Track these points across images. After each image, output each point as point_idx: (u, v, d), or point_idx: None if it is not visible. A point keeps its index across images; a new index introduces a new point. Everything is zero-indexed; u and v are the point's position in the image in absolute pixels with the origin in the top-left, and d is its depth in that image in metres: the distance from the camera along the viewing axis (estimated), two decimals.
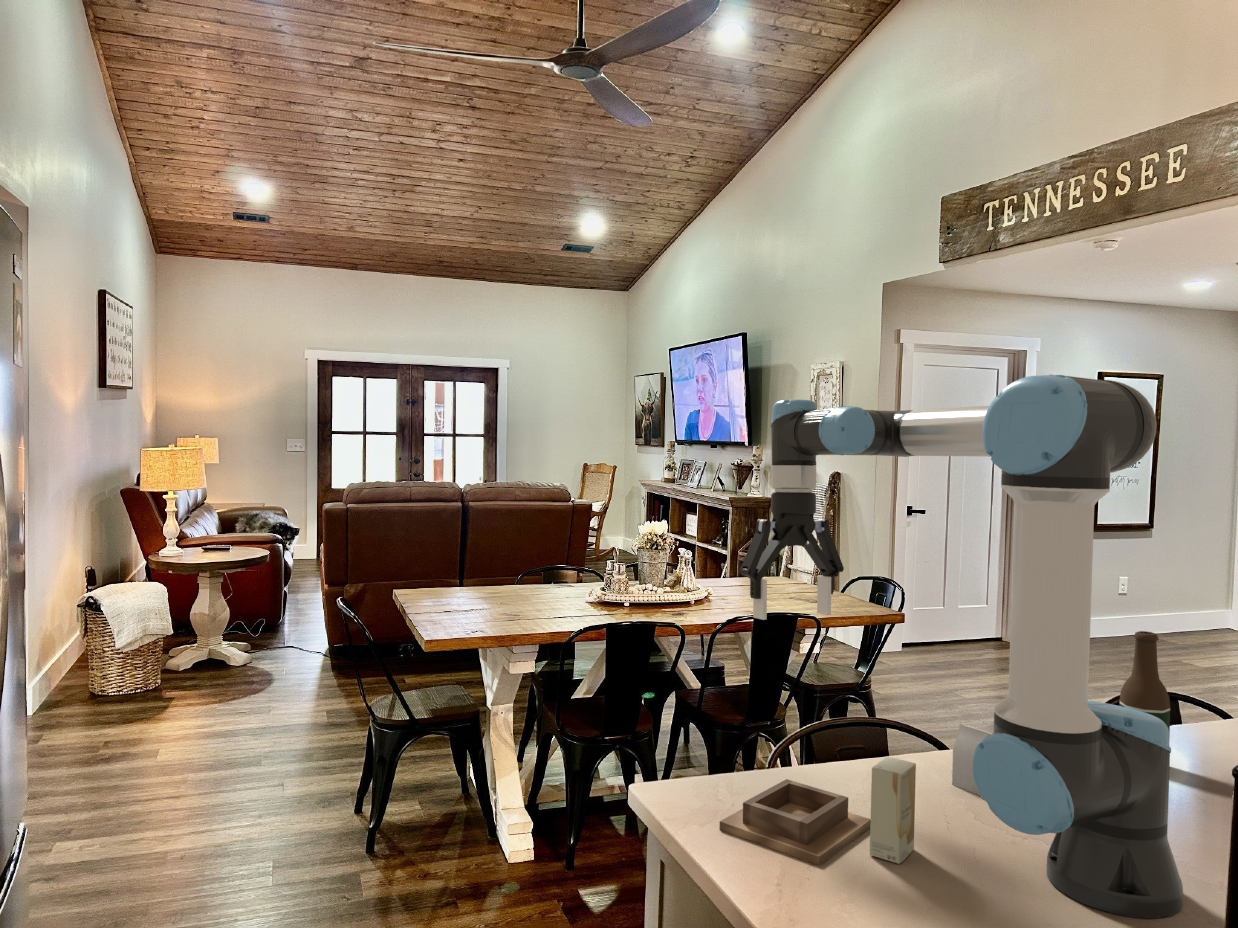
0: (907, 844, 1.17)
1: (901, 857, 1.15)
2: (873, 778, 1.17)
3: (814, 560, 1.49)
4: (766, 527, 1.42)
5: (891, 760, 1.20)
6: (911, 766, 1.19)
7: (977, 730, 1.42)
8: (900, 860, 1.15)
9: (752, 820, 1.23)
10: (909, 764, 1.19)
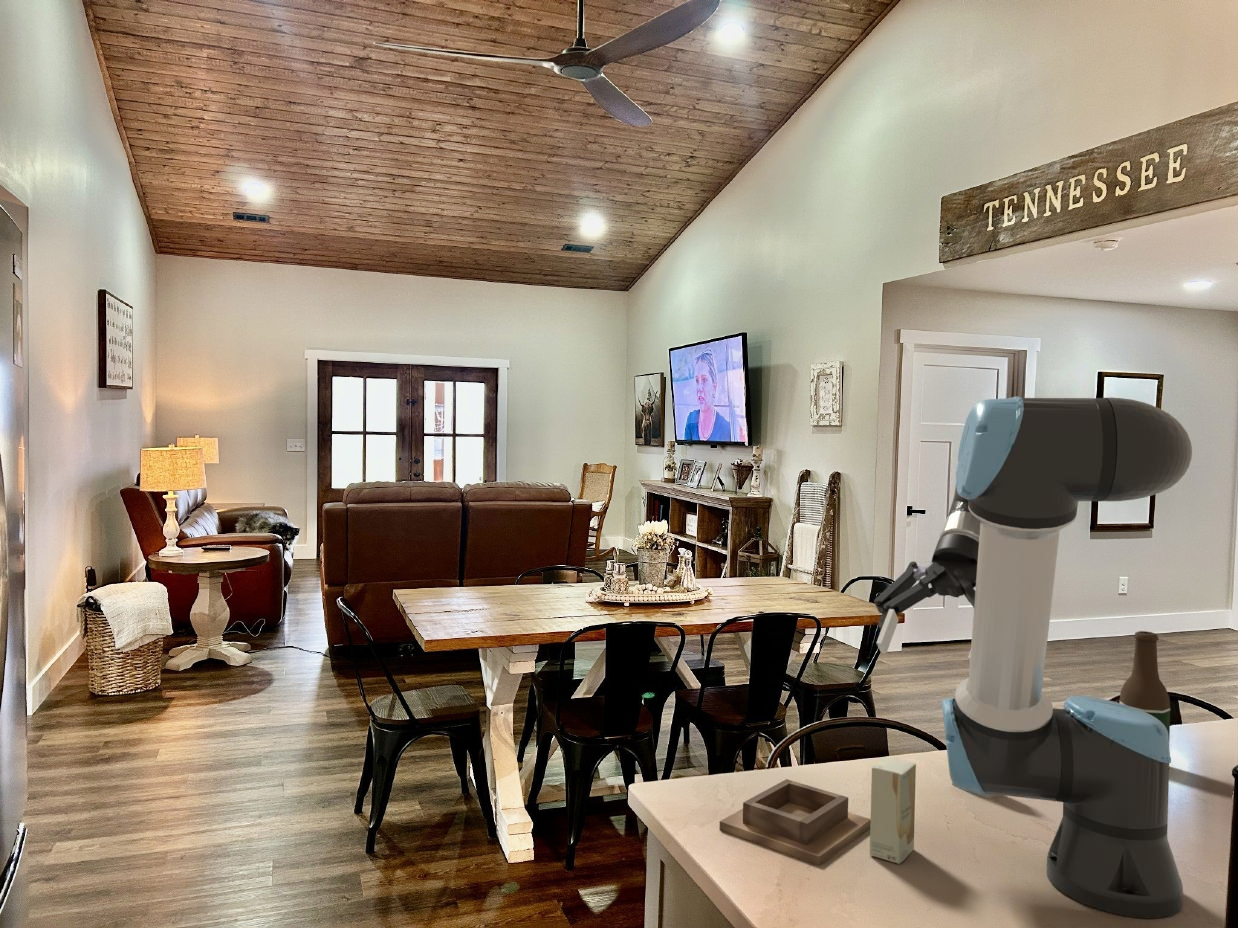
0: (907, 844, 1.17)
1: (901, 857, 1.15)
2: (873, 778, 1.17)
3: None
4: (909, 567, 1.38)
5: (891, 760, 1.20)
6: (911, 766, 1.19)
7: None
8: (900, 860, 1.15)
9: (752, 820, 1.23)
10: (909, 764, 1.19)
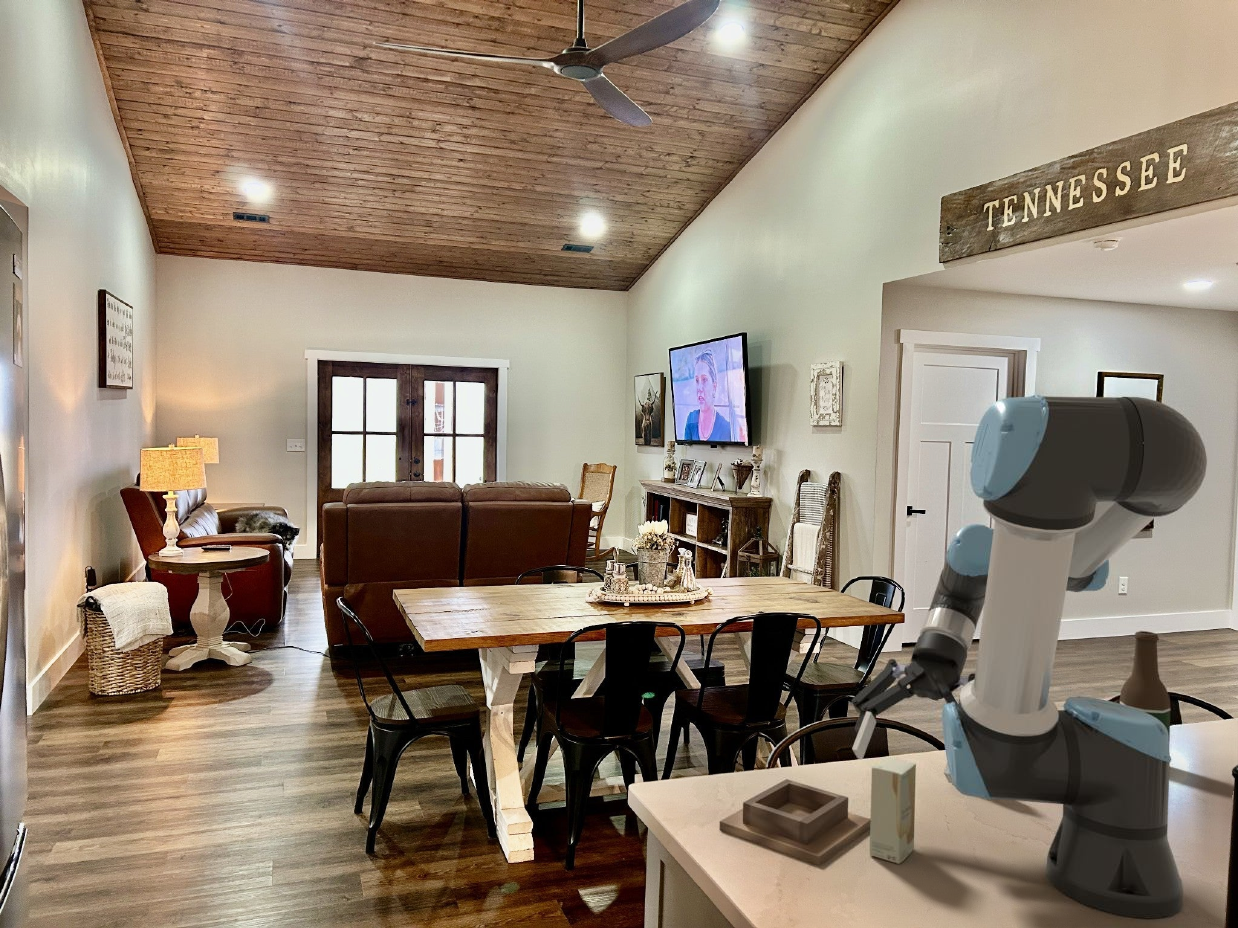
0: (907, 844, 1.17)
1: (901, 857, 1.15)
2: (873, 778, 1.17)
3: None
4: (888, 665, 1.34)
5: (891, 760, 1.20)
6: (911, 766, 1.19)
7: None
8: (900, 860, 1.15)
9: (752, 820, 1.23)
10: (909, 764, 1.19)
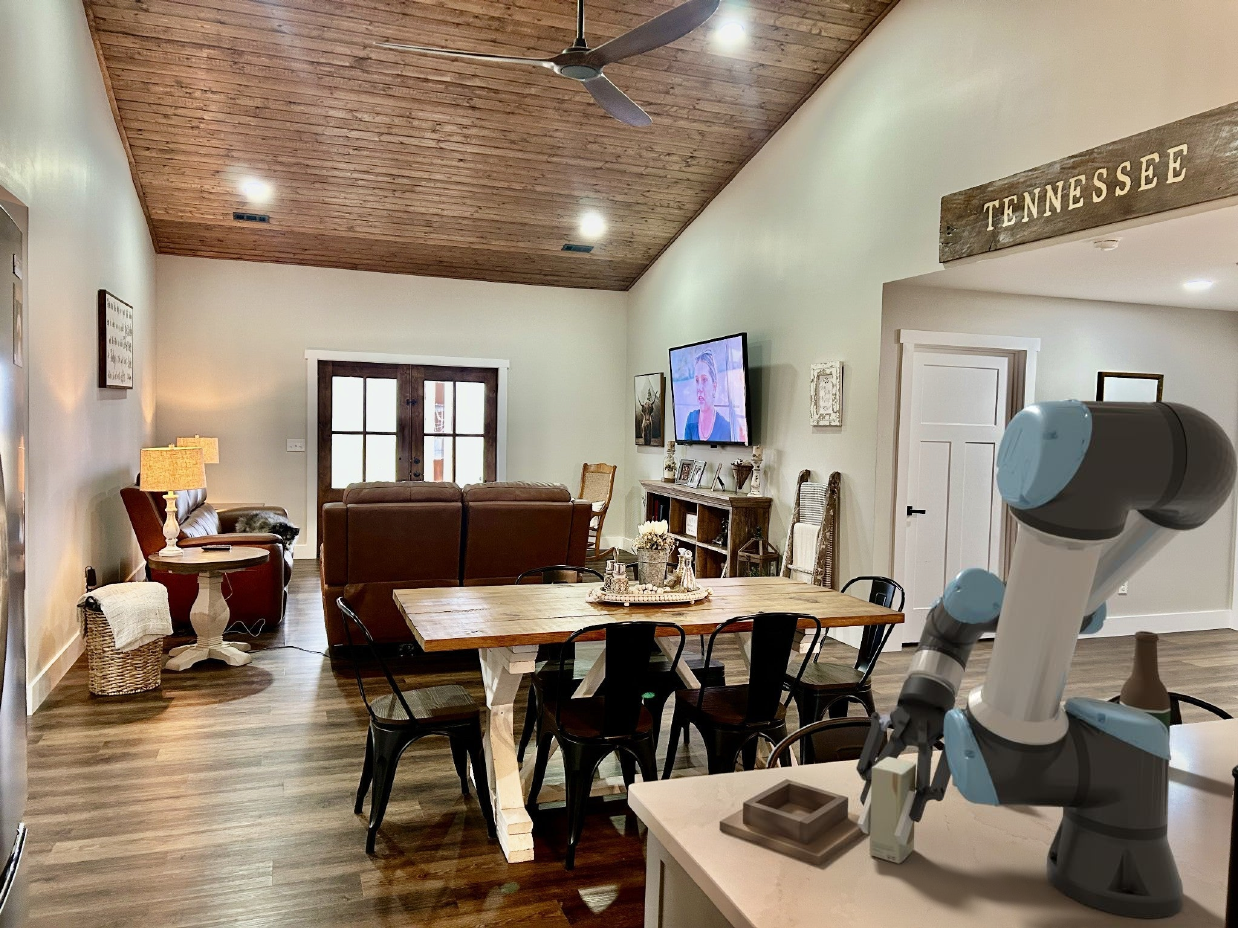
0: (907, 844, 1.17)
1: (900, 857, 1.15)
2: (873, 778, 1.17)
3: None
4: (873, 719, 1.27)
5: (891, 760, 1.20)
6: (911, 766, 1.18)
7: None
8: (900, 860, 1.15)
9: (752, 820, 1.23)
10: (909, 764, 1.19)
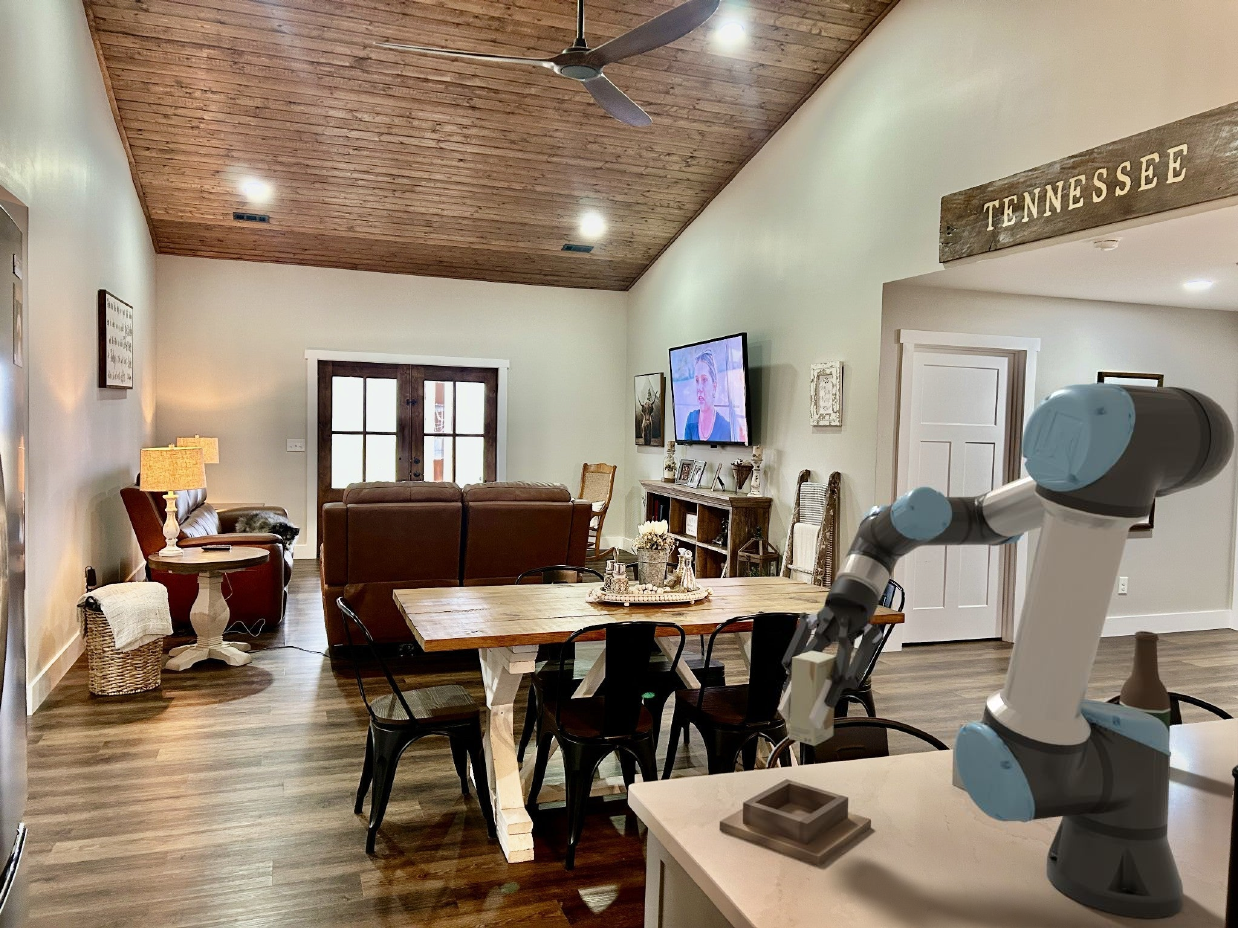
0: (824, 729, 1.25)
1: (816, 740, 1.23)
2: (793, 667, 1.25)
3: None
4: (801, 619, 1.34)
5: (813, 653, 1.28)
6: (830, 657, 1.26)
7: None
8: (815, 742, 1.23)
9: (752, 820, 1.23)
10: (829, 656, 1.26)
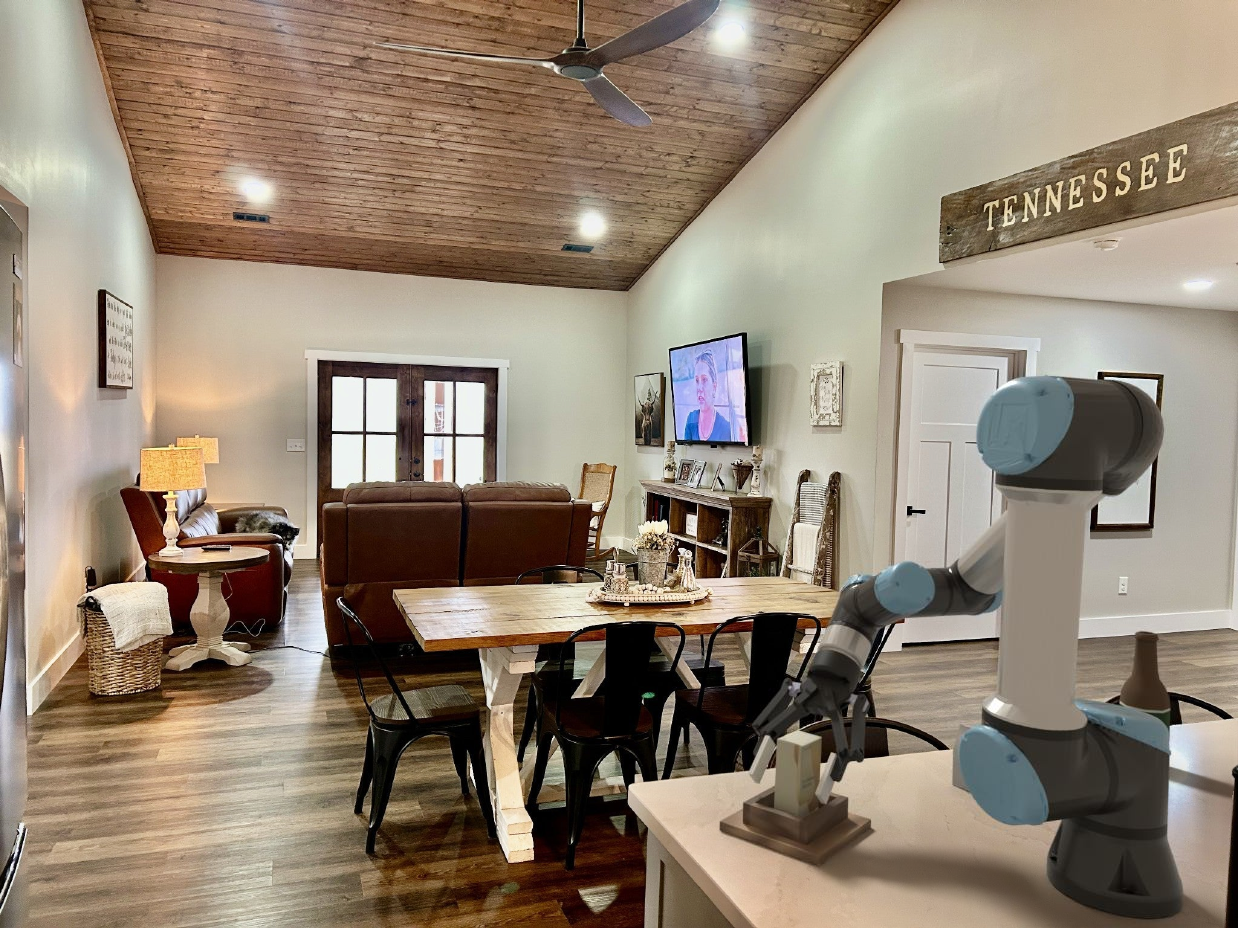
0: (808, 812, 1.24)
1: None
2: (778, 749, 1.25)
3: None
4: (784, 684, 1.35)
5: (799, 733, 1.27)
6: (816, 739, 1.25)
7: None
8: None
9: (752, 820, 1.23)
10: (814, 737, 1.26)
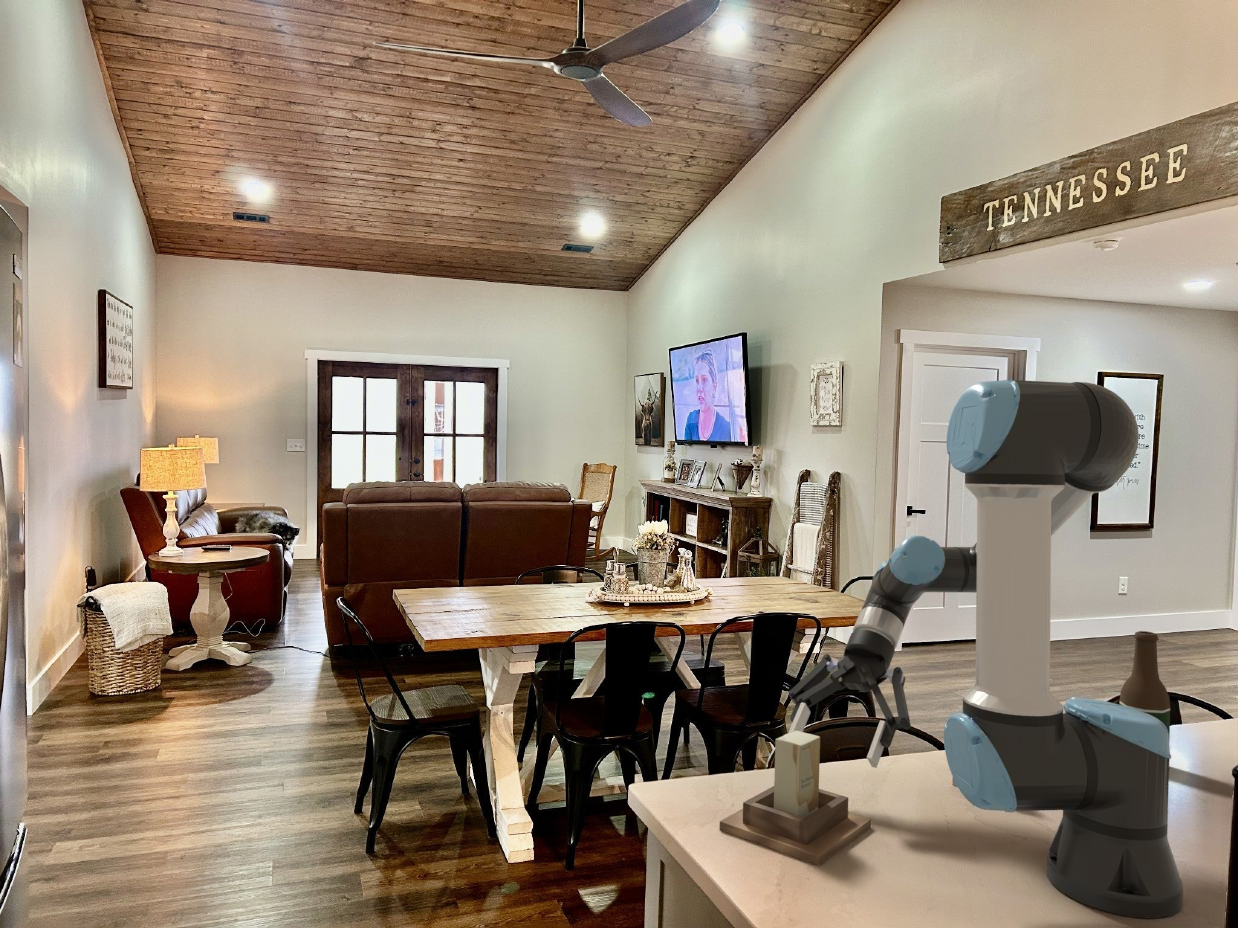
0: (808, 811, 1.24)
1: None
2: (776, 749, 1.25)
3: None
4: (823, 659, 1.45)
5: (797, 733, 1.28)
6: (814, 739, 1.26)
7: None
8: None
9: (752, 820, 1.23)
10: (813, 737, 1.26)
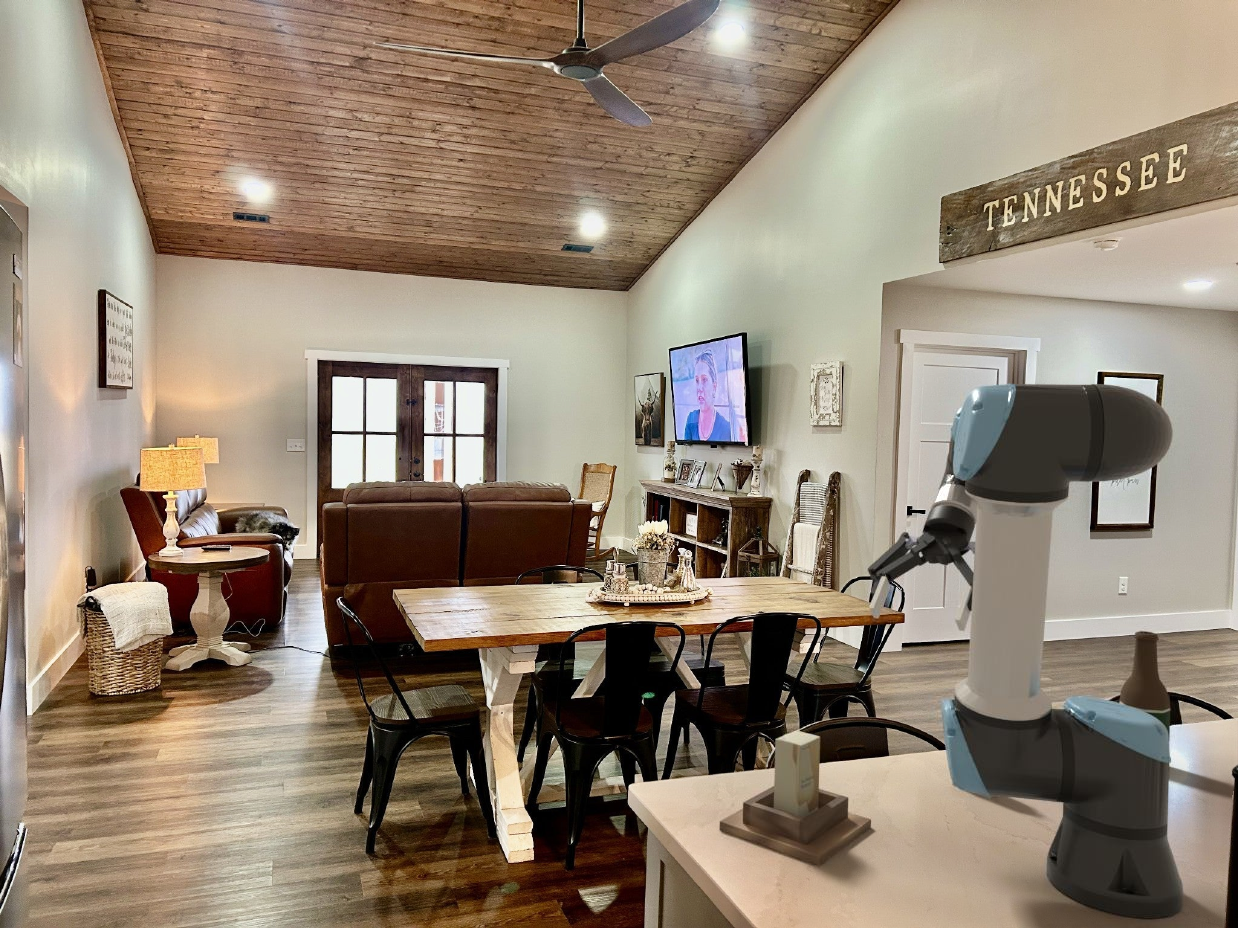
0: (808, 811, 1.24)
1: None
2: (776, 749, 1.25)
3: (966, 579, 1.35)
4: (901, 537, 1.45)
5: (797, 733, 1.28)
6: (814, 739, 1.26)
7: None
8: None
9: (752, 820, 1.23)
10: (813, 737, 1.26)
